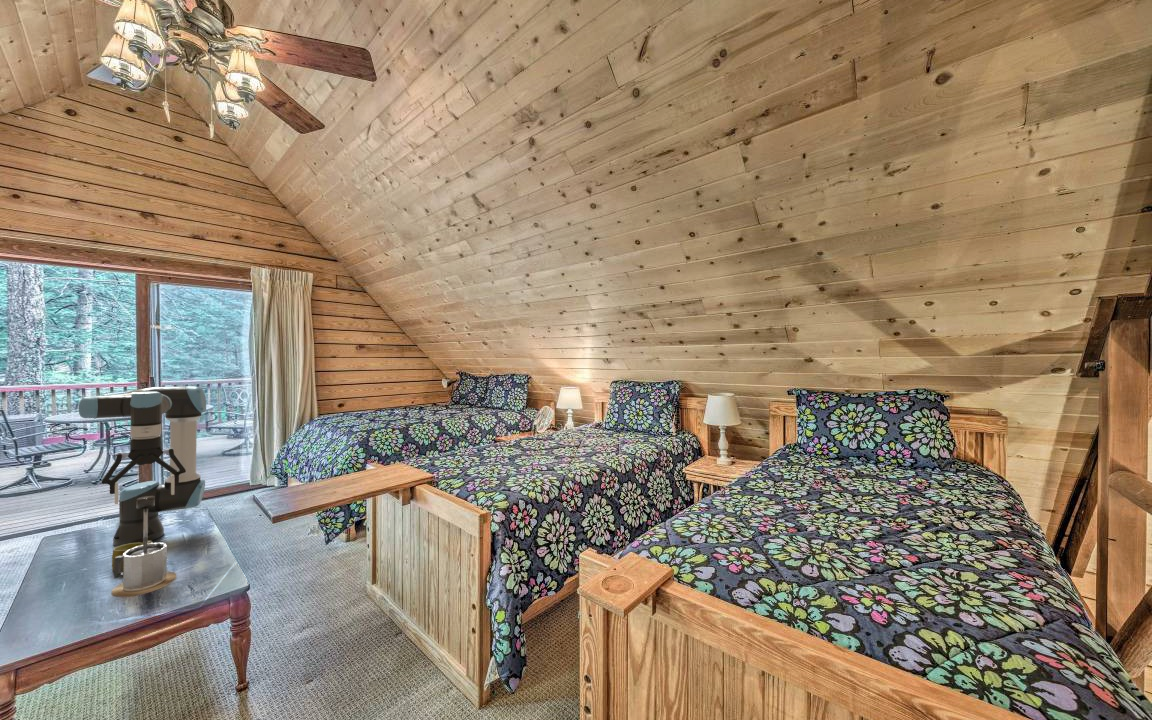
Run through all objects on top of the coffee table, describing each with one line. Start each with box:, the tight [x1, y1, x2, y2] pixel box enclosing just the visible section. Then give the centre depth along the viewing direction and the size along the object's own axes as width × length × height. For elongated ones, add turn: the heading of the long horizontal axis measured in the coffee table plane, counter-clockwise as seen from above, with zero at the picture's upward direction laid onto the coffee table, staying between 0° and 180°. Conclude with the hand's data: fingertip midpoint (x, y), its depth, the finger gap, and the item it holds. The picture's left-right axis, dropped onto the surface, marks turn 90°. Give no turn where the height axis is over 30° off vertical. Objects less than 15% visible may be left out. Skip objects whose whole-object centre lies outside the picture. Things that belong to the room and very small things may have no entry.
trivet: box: [110, 571, 178, 598], centre depth 147 cm, size 16×16×1 cm
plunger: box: [130, 496, 160, 556], centre depth 147 cm, size 7×7×20 cm
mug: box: [111, 540, 154, 573], centre depth 159 cm, size 12×10×10 cm
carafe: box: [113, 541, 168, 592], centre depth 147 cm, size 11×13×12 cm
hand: (145, 498), depth 146 cm, fingers open, 13 cm apart
